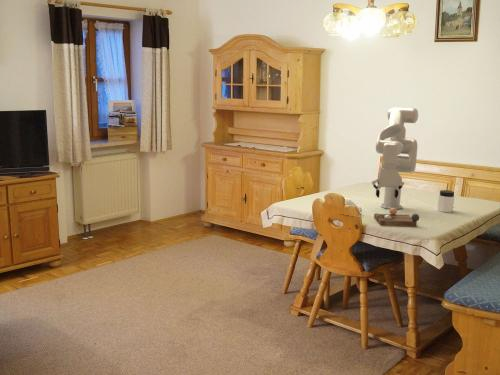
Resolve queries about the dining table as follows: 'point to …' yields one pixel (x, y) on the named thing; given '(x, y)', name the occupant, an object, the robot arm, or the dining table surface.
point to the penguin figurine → (352, 203)
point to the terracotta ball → (393, 211)
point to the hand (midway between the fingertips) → (386, 197)
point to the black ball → (415, 217)
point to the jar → (446, 201)
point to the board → (395, 220)
